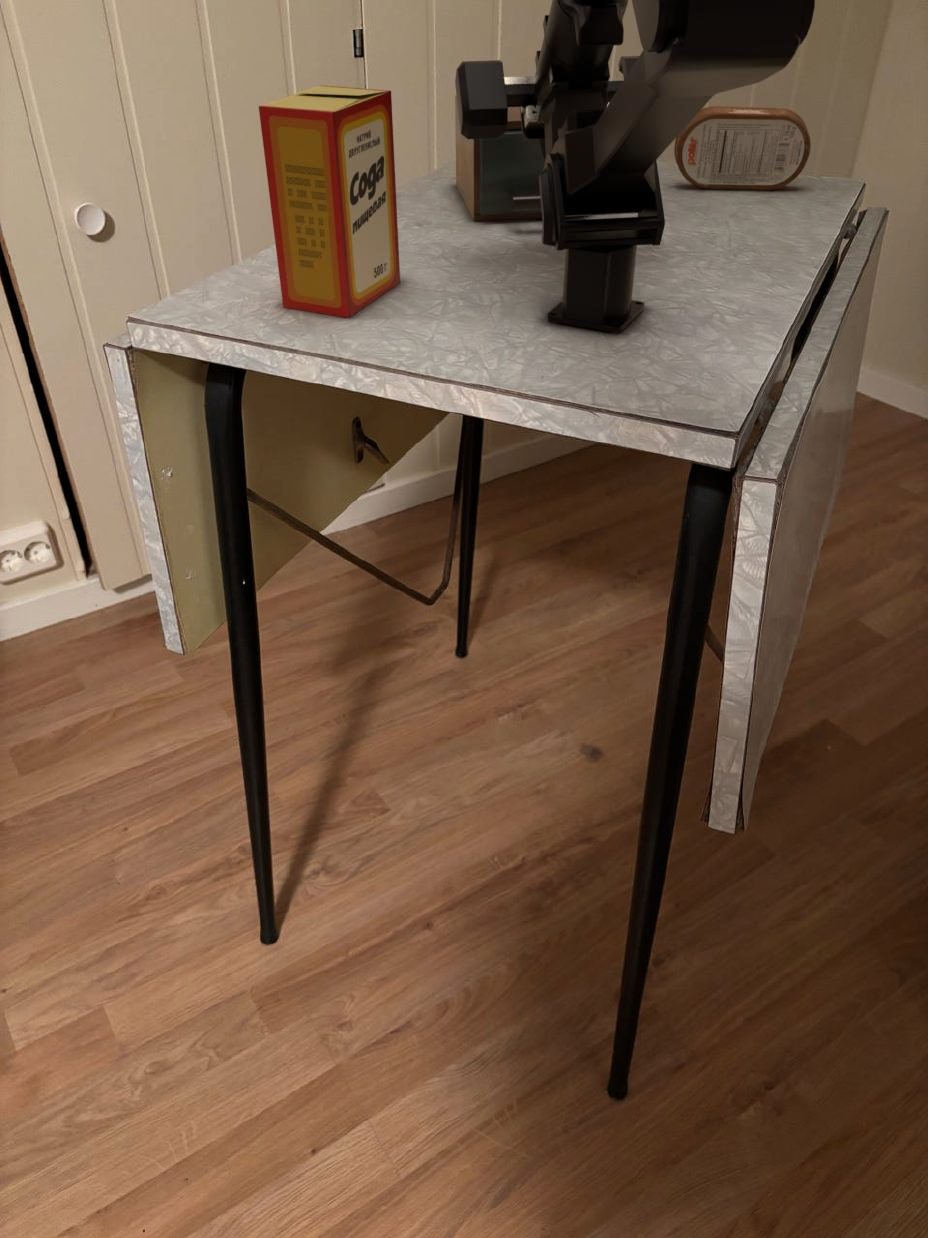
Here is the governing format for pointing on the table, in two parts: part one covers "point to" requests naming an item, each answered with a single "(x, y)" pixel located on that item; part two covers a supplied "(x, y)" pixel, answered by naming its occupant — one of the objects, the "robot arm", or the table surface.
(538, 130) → the robot arm
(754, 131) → the tin
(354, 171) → the baking soda box
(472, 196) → the cabinet
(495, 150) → the drawer
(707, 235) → the table surface
